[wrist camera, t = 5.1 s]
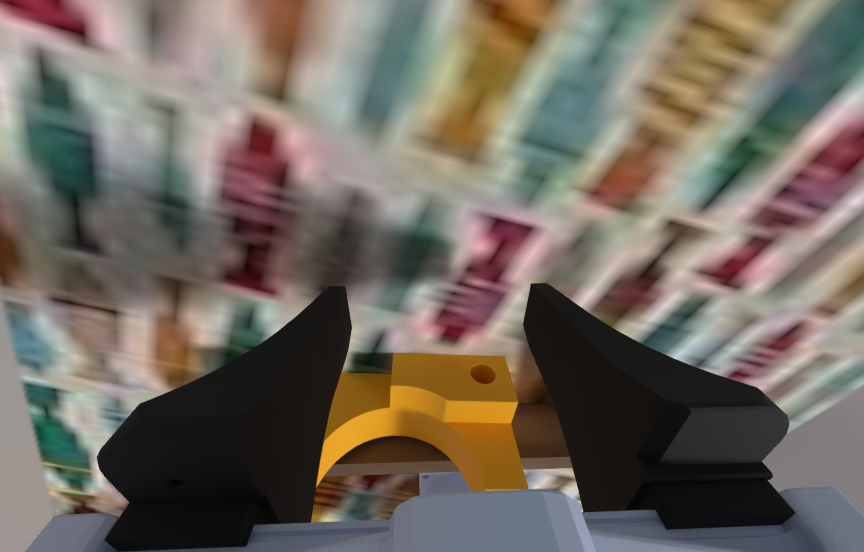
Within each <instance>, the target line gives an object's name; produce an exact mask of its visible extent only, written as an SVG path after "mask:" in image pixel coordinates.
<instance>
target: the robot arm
mask: <svg viewBox="0 0 864 552" xmlns="http://www.w3.org/2000/svg"><path fill="white" fill-rule="evenodd" d="M523 326H524V330H525V334H526V337H527V341H528V344H529V347H530V350H531V352H532V355H533V357H534V359H535V362H536V364H537V366H538V368H539V371H540V373H541V375H542V378H543V380H544V382H545V384H546V387H547V389H548V391H549V393H550V396H551V398H552V401H553V404H554V406H555V409H556V412H557V416H558V419H559V422H560V425H561V428H562V432H563V435H564V439H565V442H566V445H567V449H568V452H569V456H570V460H571V463H572V467H573V471H574V475H575V479H576V482H577V486H578V490H579V495H580V499H581V503H582V507H583V512H581V509H580V507H579V504H578V502H577V501H575V500H574V499H572V498H570V497H569V496H567V495H565V494H564V493H562V492H560V491H554V490H545V489H523V490H495V491H470V489H469V486H468V484H467V482H466V480H465V478H464V477H463V475H462V473H461V472H440V473H419V489H420V495H419V496H414V497H412V498H410V499H409V500H407V501H405V502H403V503H401V504H399V505H398V506H397V507H396V508H395V510H394V512H393V514H392V517H391V519H390V520H370V521H344V522H318V523H311V518H312V511H313V504H314V497H315V491H316V485H317V478H318V472H319V466H320V460H321V455H322V449H323V444H324V438H325V433H326V428H327V423H328V418H329V413H330V409H331V405H332V401H333V398H334V395H335V391H336V388H337V385H338V382H339V379H340V375H341V372H342V369H343V366H344V362H345V359H346V356H347V352H348V348H349V343H350V336H351V330H352V325H351V319H350V313H349V306H348V300H347V294H346V288H345V286H329V287H328V288H327V289H326V290H325V291H324V292H323V293H321V294H320V295H319V296H318V297H317V298H316V299H315V300H314V301H313V302H312V303H311V304H310V305H309V306H307V307H306V308H305V309H304V310H303V311H302V312H301V313H300V314H299V315H297V316H296V317H295V318H294V319H293V320H291V321H290V322H289V323H288V324H286V325H285V326H284V327H283V328H281V329H280V330H279V331H278V332H276V333H275V334H274V335H272V336H271V337H270V338H268V339H267V340H265V341H264V342H262V343H261V344H259V345H258V346H256V347H255V348H253V349H252V350H250V351H249V352H247V353H245V354H244V355H242V356H240V357H238V358H237V359H235V360H233V361H232V362H230V363H228V364H226V365H225V366H223V367H221V368H219V369H217V370H215V371H213V372H211V373H209V374H207V375H205V376H203V377H201V378H199V379H197V380H195V381H193V382H191V383H188V384H186V385H184V386H182V387H180V388H177V389H175V390H172V391H170V392H168V393H165V394H163V395H160V396H158V397H155V398H153V399H151V400H148V401H146V402H143V403H140V404H139V405H138V406H137V407H136V409H135V410H134V411H133V412H132V413H131V414H130V416H129V417H128V418H127V419H126V420H125V421H124V423H123V424H122V425H121V426H120V427H119V428H118V430H117V431H116V432H115V433H114V434H113V435H112V437H111V438H110V439H109V440H108V441H107V442H106V444H105V445H104V446H103V447H102V448H101V449H100V451H99V454H98V456H97V461H98V466H99V469H100V471H101V472H102V473H103V475H104V476H105V477H106V478H107V479H108V481H109V482H110V483H111V484H112V485H113V486H114V487H115V488H116V489H117V490H118V491H119V492H120V493H121V494H122V495H123V496H124V497H125V498H126V499H127V500H128V501H129V502H130V503H129V504H128V506H127V507H126V509H125V510H124V512H123V513H122V515H121V516H120V518H119V517H118V516H115V515H111V514H103V513H96V514H69V515H58V516H55V517H53V518H52V520H51V521H50V522H49V523H48V524H47V526H46V527H45V528H44V529H43V530H42V532H41V533H40V534H39V535H38V537H37V538H36V539H35V540H34V541H33V542H32V544H31V545H30V546H29V547H28V549H27V550H26V551H25V552H864V515H863V514H862V513H861V512H860V511H859V510H858V509H857V508H856V507H854V505H853V504H851V502H849V501H848V499H847V498H845V497H844V496H843V495H842V494H841V493H840V492H839V491H838V490H837V489H836V488H833V487H811V488H810V487H808V488H792V489H787V490H784V491H781V492H779V493H778V492H777V491H776V490H775V489H774V487H773V486H772V485H771V484H770V483H769V482H768V480H770V479H771V478H772V477H773V475H772V472H771V471H770V470H769V469H768V468H767V467H766V466H765V465H764V464H763V462H762V460H763V459H764V458H765V457H766V456H767V455H768V454H769V453H770V452H771V451H772V450H773V448H774V447H776V446H777V444H779V443H780V442H781V440H782V439H783V438H784V436H785V435H786V434H787V431H788V427H789V419H788V416H787V415H786V414H785V413H784V412H783V411H782V410H781V409H780V408H779V407H778V406H777V405H776V404H775V403H773V402H772V401H771V400H770V399H769V398H768V397H767V396H766V395H765V394H764V393H763V392H762V391H761V390H759V389H758V388H757V387H753V386H750V385H747V384H744V383H741V382H738V381H735V380H731V379H728V378H725V377H722V376H719V375H716V374H713V373H710V372H707V371H705V370H702V369H699V368H696V367H694V366H691V365H688V364H686V363H683V362H681V361H679V360H676V359H674V358H671V357H669V356H667V355H665V354H662V353H660V352H658V351H656V350H653V349H651V348H649V347H647V346H645V345H643V344H641V343H639V342H637V341H635V340H633V339H631V338H630V337H628V336H626V335H624V334H622V333H620V332H619V331H617V330H615V329H613V328H612V327H610V326H608V325H607V324H605V323H604V322H602V321H600V320H599V319H597V318H596V317H594V316H593V315H591V314H590V313H588V312H587V311H585V310H584V309H583V308H581V307H580V306H578V305H577V304H575V303H574V302H573V301H571V300H570V299H569V298H567V297H566V296H564V295H563V294H562V293H560V292H559V291H557V290H556V289H555V288H553V287H552V286H550V285H549V284H547V283H535V284H531V287H530V292H529V297H528V302H527V307H526V312H525V317H524V323H523ZM523 471H525V470H523Z"/></svg>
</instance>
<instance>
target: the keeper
mask: <svg viewBox="0 0 864 552" xmlns="http://www.w3.org/2000/svg"><path fill="white" fill-rule="evenodd" d="M511 425H512V429H513V433H514V437H515V440H516V444H517V448H518V452H519V455H520V459H521V463H522V467H523V470H526V469H555V468H573V467H572V463H571V460H570V456H569V452H568V449H567V445H566V442H565V439H564V435H563V432H562V428H561V425H560V422H559V419H558V416H557V412H556V409H555V406H554V404H553V403H548V404H518V405H517V408H516V411H515V414H514V416H513V419H512V422H511ZM440 472H460V470H459V469H458V468H457V466H456V465H455V464H454V463H453V461H452V460H451V459H450V458H449V457H448V456H447V455H445V454H444V453H443V452H442V451H440V450H439V449H438V448H436V447H435V446H433V445H431V444H429V443H427V442H425V441H423V440H420V439H417V438H413V437H408V436H384V437H379V438H375V439H372V440H369V441H367V442H364V443H362V444H360V445H358V446H356V447H354V448H353V449H351V450H350V451H348V452H347V453H346V454H344V455H343V456H342V457H341V458H340V459H338V460H337V461H336V462H335V463H334V464H333V465H332V467H331V468H330V469H329V470H328V471H327V472H326V474H325V475H324V476H323V477H325V476H354V475H382V474H411V473H440Z"/></svg>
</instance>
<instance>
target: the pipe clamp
mask: <svg viewBox="0 0 864 552" xmlns="http://www.w3.org/2000/svg"><path fill="white" fill-rule="evenodd" d="M517 405H518V399H517V396H516V393H515V389H514V386H513V383H512V380H511V376H510V373H509V370H508V366H507V363H506V360H505V357H498V356H469V355H440V354H412V353H393V363H392V374H371V373H341V375H340V379H339V382H338V385H337V388H336V391H335V395H334V398H333V401H332V405H331V409H330V413H329V418H328V423H327V428H326V433H325V438H324V444H323V449H322V455H321V460H320V466H319V472H318V478H317V485H316V488H317V486H318V484H319V483H320V481H321V479H322V478H323V476H324V475H325V474H326V472H327V471H328V470H329V469H330V468H331V467H332V465H333V464H334V463H335V462H336V461H337V460H338V459H340V458H341V457H342V456H343V455H344V454H346V453H347V452H348V451H350V450H351V449H353V448H354V447H356V446H358V445H360V444H362V443H364V442H367V441H369V440H372V439H375V438H379V437H384V436H408V437H413V438H417V439H420V440H423V441H425V442H427V443H429V444H431V445H433V446H435V447H436V448H438V449H439V450H440V451H442V452H443V453H444V454H445V455H447V456H448V457H449V458H450V459H451V460H452V461H453V463H454V464H455V465H456V466H457V468H458V469H459V470H460V472H461V473H462V475H463V477H464V478H465V480H466V482H467V484H468V486H469V489H470V491H495V490H523V489H528V486H527V482H526V478H525V474H524V471H523V467H522V463H521V459H520V455H519V452H518V448H517V444H516V440H515V437H514V433H513V429H512V425H511V422H512V419H513V416H514V414H515V411H516V408H517Z"/></svg>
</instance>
